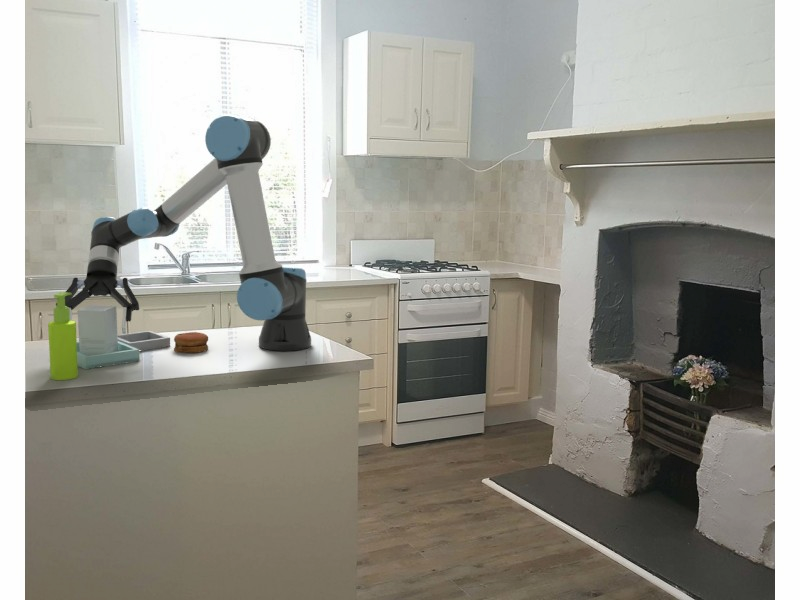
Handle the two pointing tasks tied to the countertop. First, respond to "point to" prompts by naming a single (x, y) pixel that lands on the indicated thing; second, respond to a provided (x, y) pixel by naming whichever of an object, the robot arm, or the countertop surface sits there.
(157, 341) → the holder
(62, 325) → the soap dispenser
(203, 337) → the burger
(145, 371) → the countertop surface
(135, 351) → the tray
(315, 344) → the countertop surface
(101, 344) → the supplement box
